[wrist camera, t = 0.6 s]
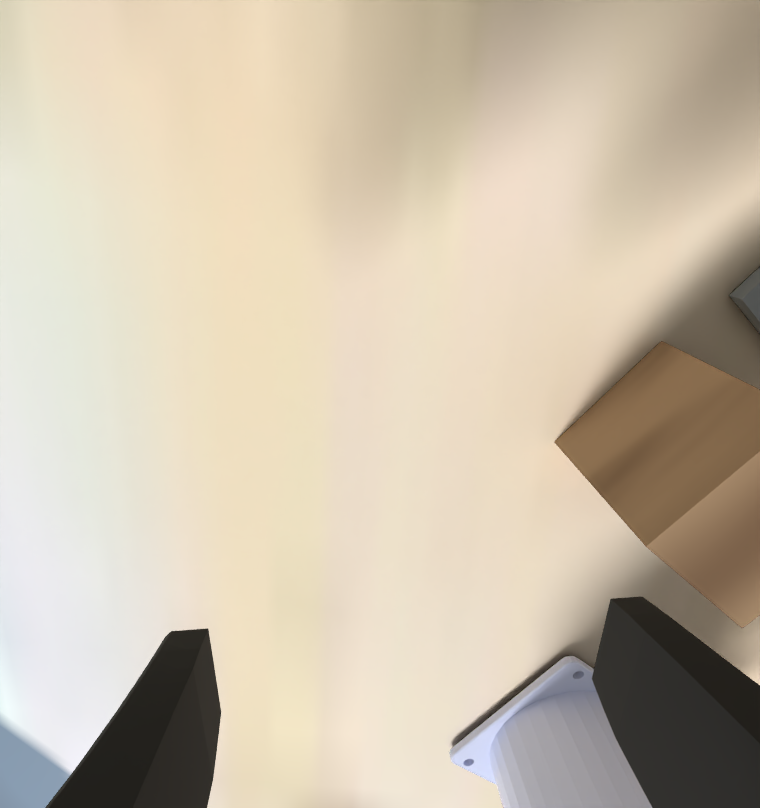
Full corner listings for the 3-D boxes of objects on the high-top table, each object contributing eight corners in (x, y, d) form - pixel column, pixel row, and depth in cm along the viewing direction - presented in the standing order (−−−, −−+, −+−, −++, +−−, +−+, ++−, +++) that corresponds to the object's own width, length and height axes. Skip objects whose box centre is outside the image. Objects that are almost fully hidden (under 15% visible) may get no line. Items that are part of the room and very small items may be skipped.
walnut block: (734, 422, 20) (891, 516, 15) (632, 510, 21) (742, 628, 16) (660, 340, 18) (806, 412, 13) (553, 441, 20) (646, 546, 14)
